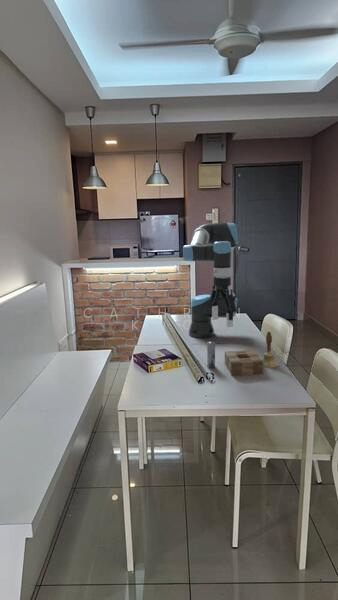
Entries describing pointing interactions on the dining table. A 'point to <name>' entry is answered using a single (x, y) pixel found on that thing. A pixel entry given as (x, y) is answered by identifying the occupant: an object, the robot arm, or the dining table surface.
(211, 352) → the peg
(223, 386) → the dining table surface
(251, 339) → the dining table surface
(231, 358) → the socket
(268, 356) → the hand bell
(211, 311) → the robot arm
